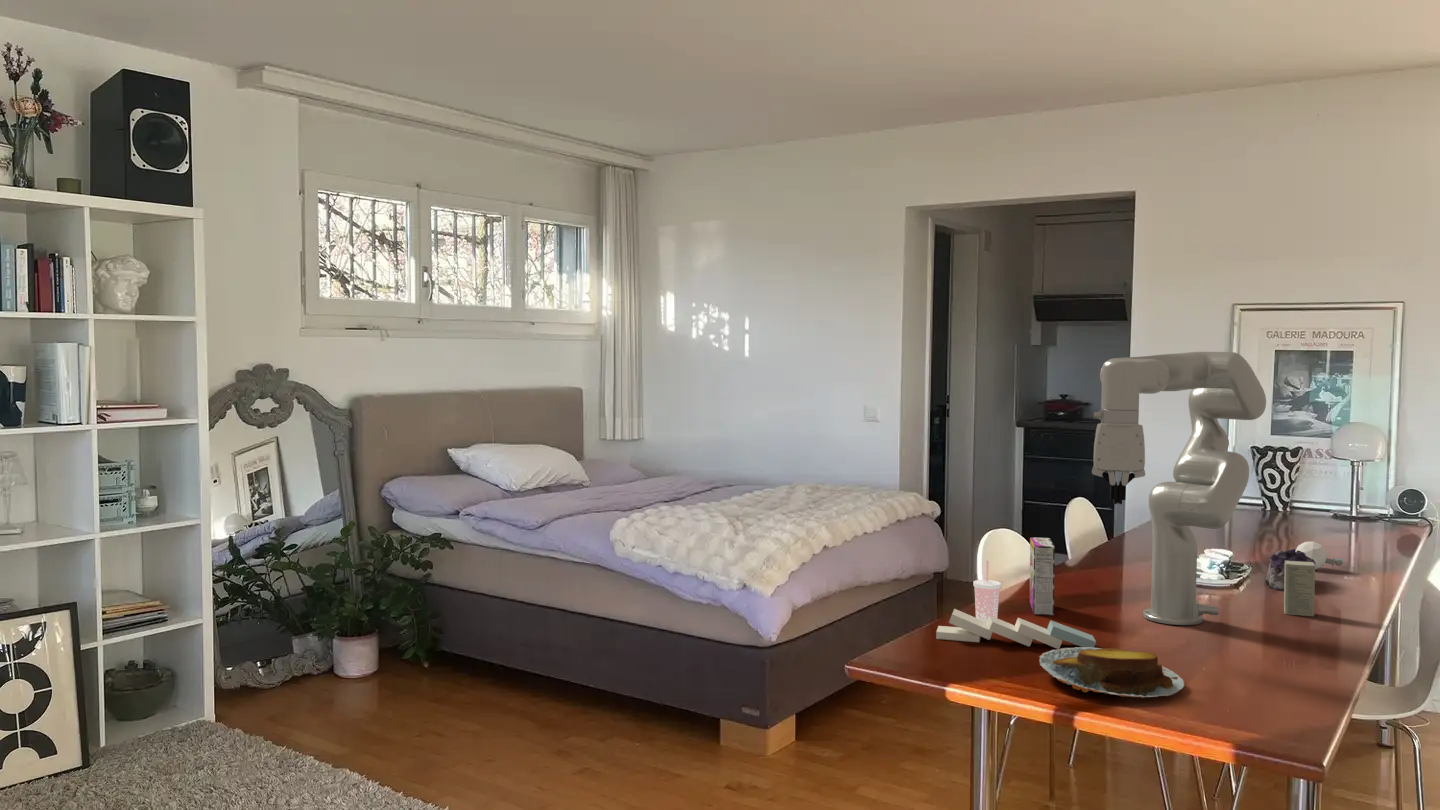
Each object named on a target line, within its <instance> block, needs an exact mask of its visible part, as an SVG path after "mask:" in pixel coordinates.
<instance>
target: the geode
mask: <svg viewBox="0 0 1440 810" xmlns="http://www.w3.org/2000/svg"><path fill="white" fill-rule="evenodd" d="M1285 560H1286V561H1302V562H1313V563H1314V564H1315V561H1314V560H1313V559H1311V558H1309V557H1307V556H1306V555H1305V553H1304V552H1301V551H1299V550H1297V551H1296V549H1295V548H1294V549H1289V550H1284V551H1283V550H1276V551H1275V552H1274V553H1273V554H1272V555H1271V556H1270V557H1269V564H1268V567H1267V569H1268V570H1267V573H1266V577H1265V578H1264V579H1265V580H1264V582H1265V583H1268V587H1269V589H1270V590H1271V589H1272V590H1275V591H1278V592H1284V574H1285Z"/></svg>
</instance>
